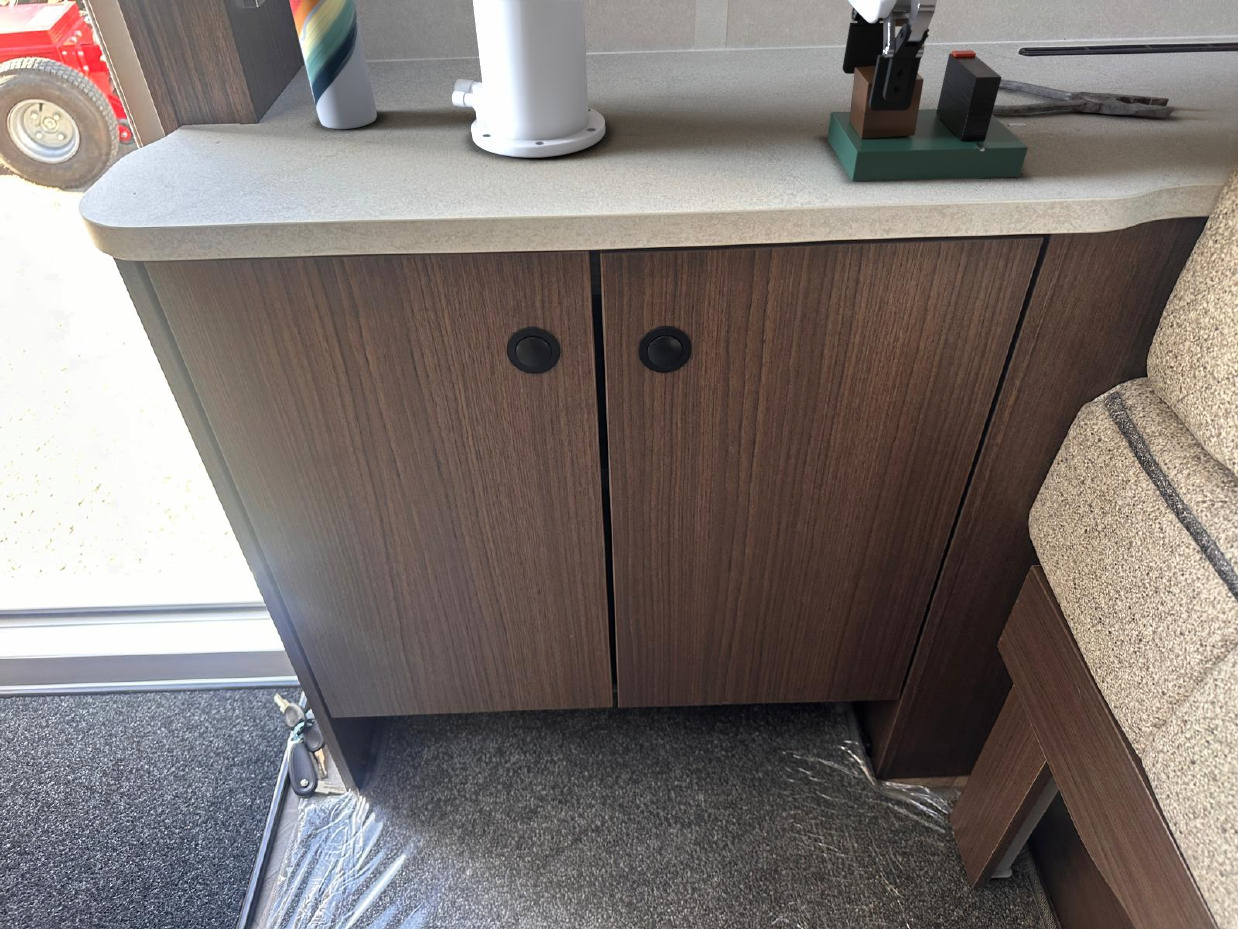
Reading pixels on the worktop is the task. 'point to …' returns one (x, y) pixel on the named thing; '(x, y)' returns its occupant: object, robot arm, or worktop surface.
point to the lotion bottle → (335, 62)
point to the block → (880, 121)
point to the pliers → (1084, 102)
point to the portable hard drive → (968, 96)
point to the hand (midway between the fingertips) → (873, 90)
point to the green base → (926, 151)
